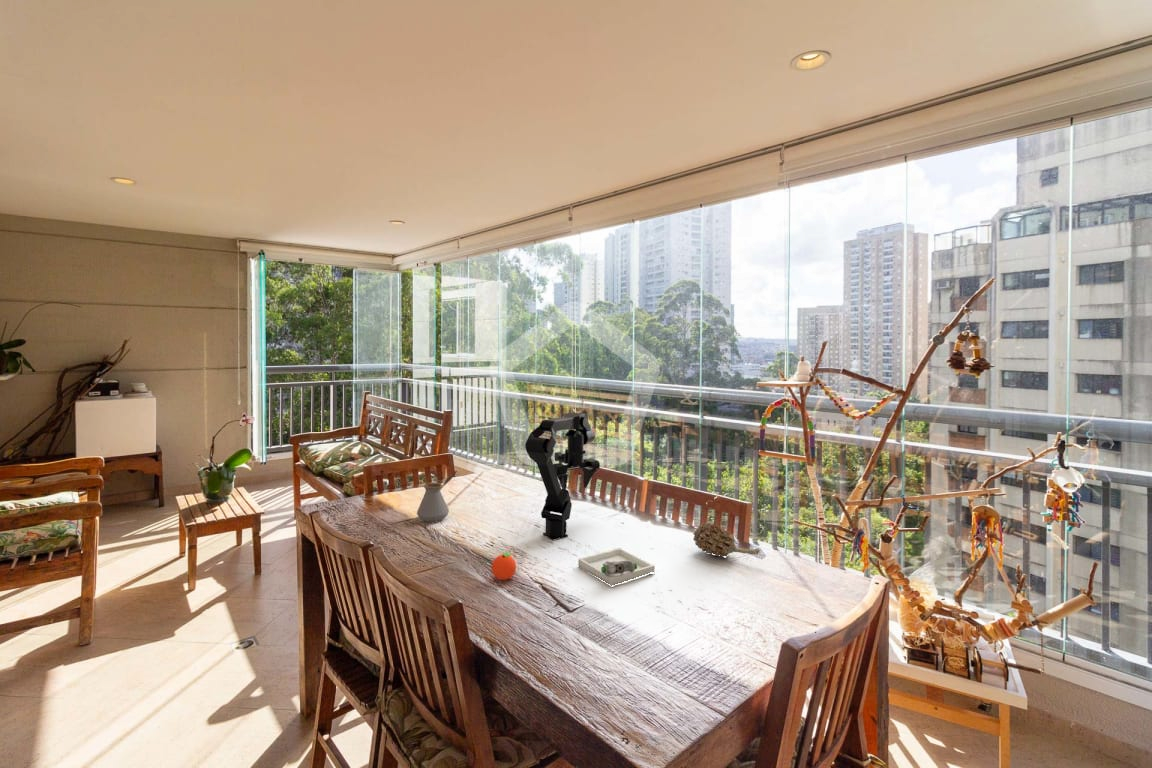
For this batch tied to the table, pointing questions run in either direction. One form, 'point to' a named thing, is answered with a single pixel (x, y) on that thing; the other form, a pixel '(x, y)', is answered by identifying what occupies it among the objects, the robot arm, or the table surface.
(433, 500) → the coffee pot
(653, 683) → the table surface
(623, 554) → the parts tray
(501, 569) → the clementine
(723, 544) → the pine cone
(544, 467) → the robot arm
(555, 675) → the table surface
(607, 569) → the mechanical component
